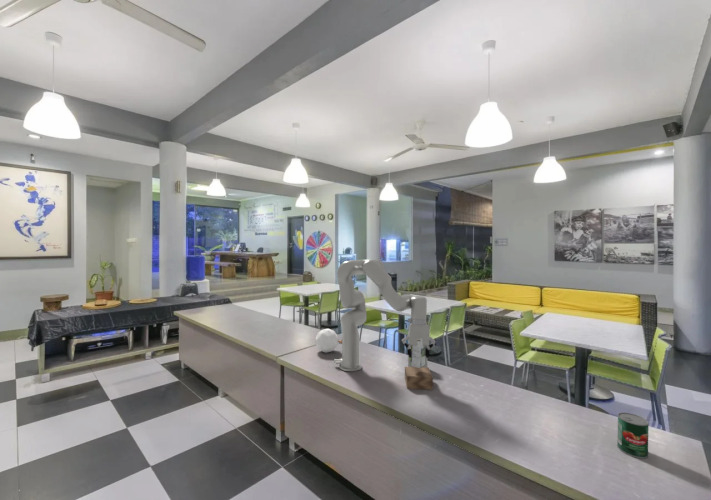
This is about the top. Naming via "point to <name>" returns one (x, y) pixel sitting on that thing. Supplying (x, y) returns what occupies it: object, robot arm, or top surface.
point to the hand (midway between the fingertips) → (418, 356)
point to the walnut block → (418, 378)
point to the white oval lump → (327, 340)
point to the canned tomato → (633, 435)
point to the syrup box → (418, 354)
